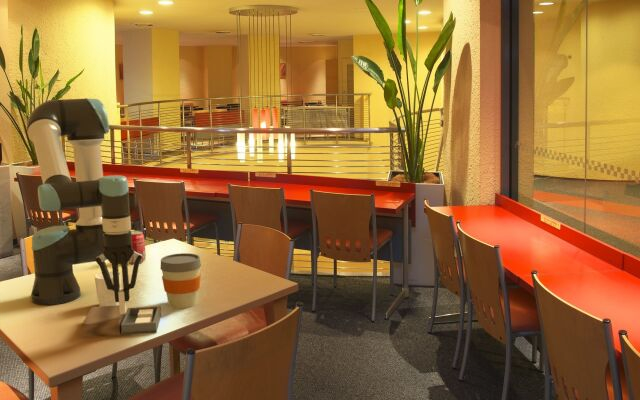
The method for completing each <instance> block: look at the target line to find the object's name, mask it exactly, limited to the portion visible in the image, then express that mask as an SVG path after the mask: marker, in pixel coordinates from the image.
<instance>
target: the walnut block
mask: <svg viewBox="0 0 640 400" xmlns="http://www.w3.org/2000/svg"><path fill="white" fill-rule="evenodd" d="M126 312H127V311H126ZM125 314H126V313H125ZM125 314H120V308H119V305H117V306H101V307H99V306H91V308H90V310H89V311H88V313H87V314H86V316H85V318H84V320H82V323H81V329H82V338H84V339H86V338H99V337H112V336H121V335H122V330H121V324H122V322H123V319H124V317H125Z"/></svg>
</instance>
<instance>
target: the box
mask: <svg viewBox="0 0 640 400" xmlns="http://www.w3.org/2000/svg"><path fill="white" fill-rule="evenodd" d="M142 309H153V313H154V316H153V319H152V320H151V322H144V323H135V322H136V319H137V318H138V312H139V310H142ZM161 316H162V309H161V305H157V306H153V305H152V306H139V307H138V306H136V307H127V312H126V314H125V317H124V319H123V322H122V324H121V330H122V332H121V335H122V336H126V335H127V336H128V335H130V336H131V335H141V334H142V335H143V334H156V333H157V331H158V329H159V326H160V325H159V324H160V321H161Z"/></svg>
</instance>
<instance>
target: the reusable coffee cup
mask: <svg viewBox="0 0 640 400" xmlns="http://www.w3.org/2000/svg"><path fill="white" fill-rule="evenodd" d="M201 262H202V261H201V257H200V255H198V254H196V253H188V252H187V253H185V252H184V253H173V254H169V255H165V256H163V257H162V258H161V259H160V270H161V271H162V272H161V273H162V276H161V279H162V284H163V290H164V292H165V293H166V299H167V303H168V306H169V308H172V309H176V310H177V309H179V310H180V309H181V310H182V309H188V308H192V307H195V306H196V305H198V297H199V289H200V287H201V275H202V274H201V273H200V270H201V267H202V263H201Z"/></svg>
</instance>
